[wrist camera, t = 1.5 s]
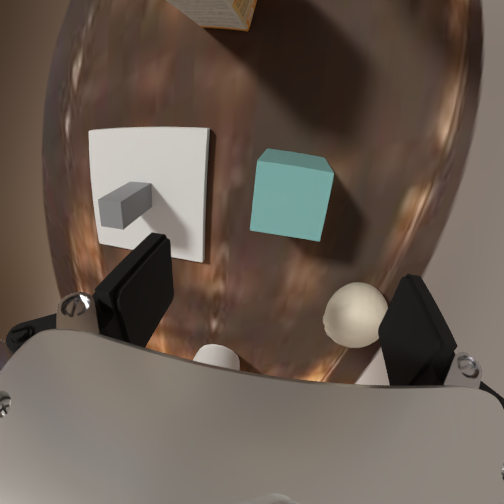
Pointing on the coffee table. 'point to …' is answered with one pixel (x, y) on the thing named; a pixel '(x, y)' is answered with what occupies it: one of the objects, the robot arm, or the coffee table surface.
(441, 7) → the coffee table surface
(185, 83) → the coffee table surface
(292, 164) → the teal block
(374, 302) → the off-white rounded piece
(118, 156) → the white square plate
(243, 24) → the supplement box
